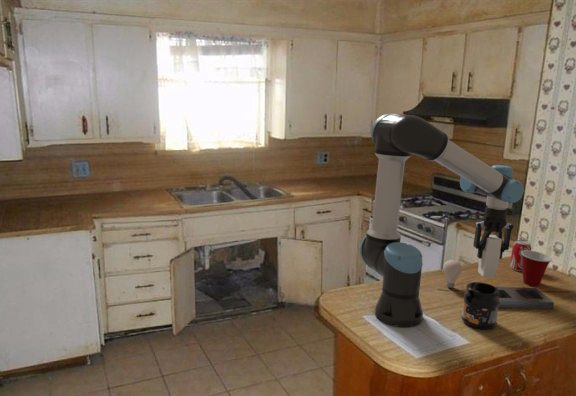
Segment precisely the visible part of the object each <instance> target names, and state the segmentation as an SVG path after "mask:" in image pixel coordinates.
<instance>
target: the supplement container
mask: <svg viewBox="0 0 576 396" xmlns="http://www.w3.org/2000/svg"><path fill="white" fill-rule="evenodd" d="M496 287H497V286H494V285H492V284H490V283H487V282H482V281H481V282H479V281H478V282H477V281H474V282H468V283H467V284H466V290H465V292H464V294H463V302H462V311H461V319H462V320H461V321H463V323H465V324H466V325H467V326H469V327H471V328H473V329H478V330H491V329H493V328H495V327H496V325H497V321H498V312H499V308H498V307H499V303H500V301H499V299H498V298H500V296H499V290H498V289H497V288H496Z"/></svg>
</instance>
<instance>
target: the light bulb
mask: <svg viewBox="0 0 576 396" xmlns="http://www.w3.org/2000/svg"><path fill="white" fill-rule="evenodd" d="M442 268H443V272H444V273H443V274H444V275H445V277H446V278H445V280H446V287H447V288H450V289H452V288H455V284H456V282H457V279H458V277H459V276H460V275H461V274H462V264H461V263H460V262H459V261H457V260H456V259H455V260H454V259H449V260H447V261H445V263H444V264H443V267H442Z"/></svg>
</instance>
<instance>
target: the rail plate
mask: <svg viewBox="0 0 576 396" xmlns="http://www.w3.org/2000/svg"><path fill="white" fill-rule="evenodd" d="M495 287H496V288H497V289H498V290H499V297H498V299H499V301H500V303H499V307H498V309H531V310H532V309H535V310H536V309H539V310H541V309H542V310H553V309H554V305H555V302H554V301H553V300H552V299H551V298H549V297H548V296H547V295H545V294H544V292H542V291H540V290H539V289H538V288H537V287H522V286H521V287H515V286H513V287H512V286H510V287H509V286H495ZM525 297H526V298H525Z"/></svg>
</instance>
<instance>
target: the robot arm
mask: <svg viewBox="0 0 576 396" xmlns="http://www.w3.org/2000/svg"><path fill="white" fill-rule="evenodd" d="M370 137H371V140H372V141H373V143H374V144H375V147H374V148H375V150H374V155H375V156H376V157H377V158H378V164H377V165H378V166H377V173H376V184H375V193H374V201H373V202H374V203H373V210H372V211H373V213H372V221H371V222H372V223H371V227H370V228H369V229H368V230H367V231H366V235H364V238H363V239H361V241H360V245H359V249H358V251H359V255H360V258H361V259H362V260H361V261H363V262H364V263H365V265H367V267H368V268H370V269H371V270H373V271H374V272H376V273H377V274H379V275H380V276H381V277H382V288H381V289H382V291H381V293H380V296H379V297H378V300H377V302H376V304H375V311H374V314H375V316H376V318H377V319H378V320H379V321H381V322H382V323H384V324H387V325H390V326H394V327H397V328H398V327H399V328H410V327H415V326H418V325H420V324H421V323H422V322H423V317H424V316H423V315H424V314H423V313H424V311H423V308H422V303H421V299H420V289H421V288H420V287H421V276H422V270H423V269H422V268H423V254H422V252H421V251H420V249H419V248H417V247H416V246H414V245H412V244H407V243H405V242H401V240H402V239H401V237H402V236H401V234H400V232H399V231H398V223H399V215H400V206H401V200H402V199H401V198H402V191H403V181H404V174H405V164H406V161H407V160H408V159H409V158H411V155H414V156H417V157H421V158H423V160H426V161H427V162H436V163H438V164H440V166H443V167H445V168H446V169H448V170H449V171H451V172H453V173H454V174H456V175H458V176H459V177H460V179H459V187H460V188H461V190H462V191H463V192H464V193H470V194H473V193H477V194H480V195H483V196H486V202H485V205H486V206H485V208H484V209H485V210H484V215H483V216H484V217H483V219H482V221H479V222H478V221H474V225H475V231H474V239H473V247H474V248H475V249H476V250H477V254H476V255H477V259H478V264H477V265H478V267H479V266H480V267H483V264H484V257H485V251H484V247H485V245H486V242H487V238H489V235H492V233H493V232H495V235H496V236H497V237H498V238H501V239H502V243H501V249H500V256H499V260H502V259H503V253H504V252H505V251H508V250H509V249H510V242H511V235H512V231H513V228H514V225H513V224H512V223H508V222H507V216H508V208H509V204H510V203H511V204H513V203H517V202H519V201H520V200H521V199H522V197H523V195H524V192H525V188H524V185H523V184H522V182H521V181H519V180H516V179H514V178H513V177H514V168H513V167H511V166H510V165H502V164H494V165H492V166H490V165H489V164H487V163H486V162H484V161H482V160H481V159H480V158H478V157H476V156H474V155H473V154H472V153H470V152H469V151H467V150H465V149H464V148H462V147H461V146H459V145H457V144H456V143H454V142H453V141H452V140H449V136H448V134H446V133H445V131H443V130H441V129H440V128H437V127H436V126H435V125H433V124H432V123H430V122H428V121H427V120H425V119H424V118H423V117H419V116H417V115H413V114H405V113H404V114H403V113H402V114H401V113H396V112H393V113H392V112H391V113H385V114H383V115H381V116H379V117H378V118H377V119H376V120H375V121H374V122H373V124H372V126H371V131H370ZM483 227H484V230H483V229H482V228H483ZM503 229H504V234H503ZM482 231H483V234H482ZM499 264H500V262H499V263H498V267H499V266H500V265H499Z"/></svg>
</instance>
